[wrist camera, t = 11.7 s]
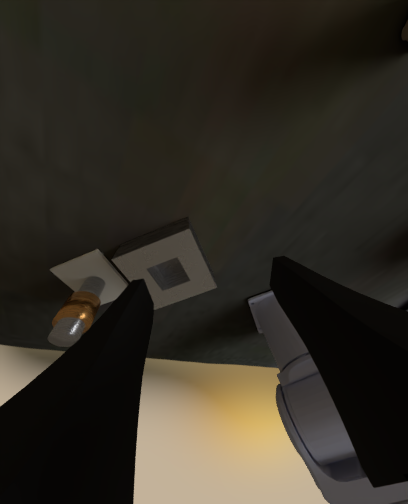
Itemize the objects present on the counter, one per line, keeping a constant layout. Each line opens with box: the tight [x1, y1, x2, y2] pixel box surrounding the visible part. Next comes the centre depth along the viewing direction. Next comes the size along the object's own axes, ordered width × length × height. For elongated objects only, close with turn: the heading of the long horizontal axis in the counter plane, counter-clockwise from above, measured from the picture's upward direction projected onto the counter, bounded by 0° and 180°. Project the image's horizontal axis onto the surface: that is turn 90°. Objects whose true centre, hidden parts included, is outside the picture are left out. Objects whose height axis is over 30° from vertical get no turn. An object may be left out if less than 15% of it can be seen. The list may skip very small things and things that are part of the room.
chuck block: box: [111, 217, 217, 310], centre depth 19 cm, size 8×8×3 cm
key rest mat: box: [50, 249, 129, 305], centre depth 20 cm, size 7×6×1 cm
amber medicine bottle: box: [48, 276, 105, 347], centre depth 17 cm, size 3×3×7 cm
